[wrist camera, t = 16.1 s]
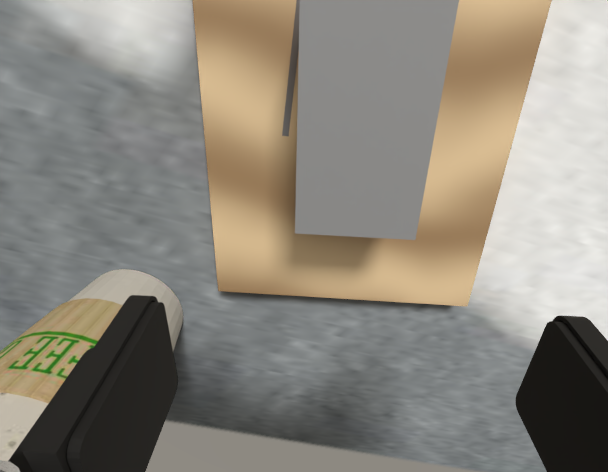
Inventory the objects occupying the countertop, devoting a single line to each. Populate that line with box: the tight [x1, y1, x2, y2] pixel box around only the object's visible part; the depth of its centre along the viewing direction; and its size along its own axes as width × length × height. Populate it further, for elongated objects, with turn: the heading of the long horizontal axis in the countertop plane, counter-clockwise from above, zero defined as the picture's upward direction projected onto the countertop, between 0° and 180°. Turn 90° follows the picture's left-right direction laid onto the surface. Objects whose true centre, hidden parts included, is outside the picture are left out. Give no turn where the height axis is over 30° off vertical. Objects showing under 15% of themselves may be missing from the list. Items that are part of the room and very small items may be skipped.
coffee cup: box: [0, 269, 183, 461], centre depth 19 cm, size 10×10×15 cm
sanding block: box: [295, 0, 459, 240], centre depth 15 cm, size 8×4×5 cm, turn 178°
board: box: [193, 0, 552, 306], centre depth 17 cm, size 26×14×2 cm, turn 178°
